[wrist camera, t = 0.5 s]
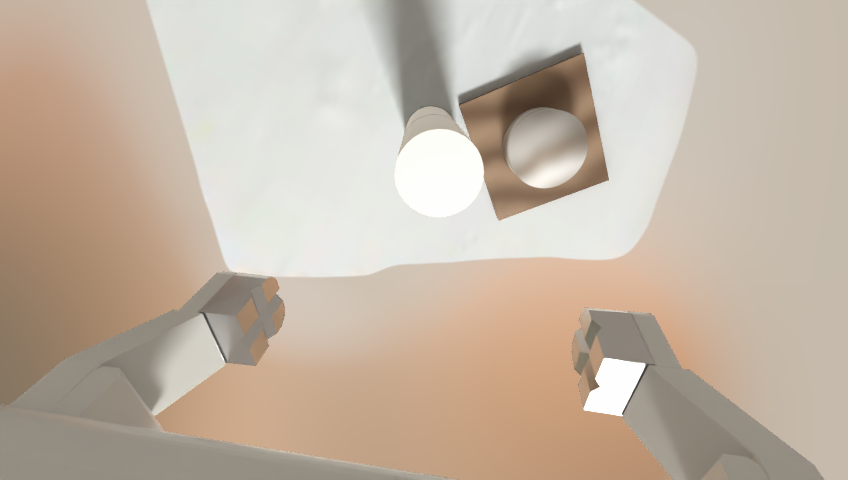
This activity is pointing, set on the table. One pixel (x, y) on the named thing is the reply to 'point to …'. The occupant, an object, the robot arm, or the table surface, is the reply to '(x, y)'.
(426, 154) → the cylindrical container
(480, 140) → the base
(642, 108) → the table surface
